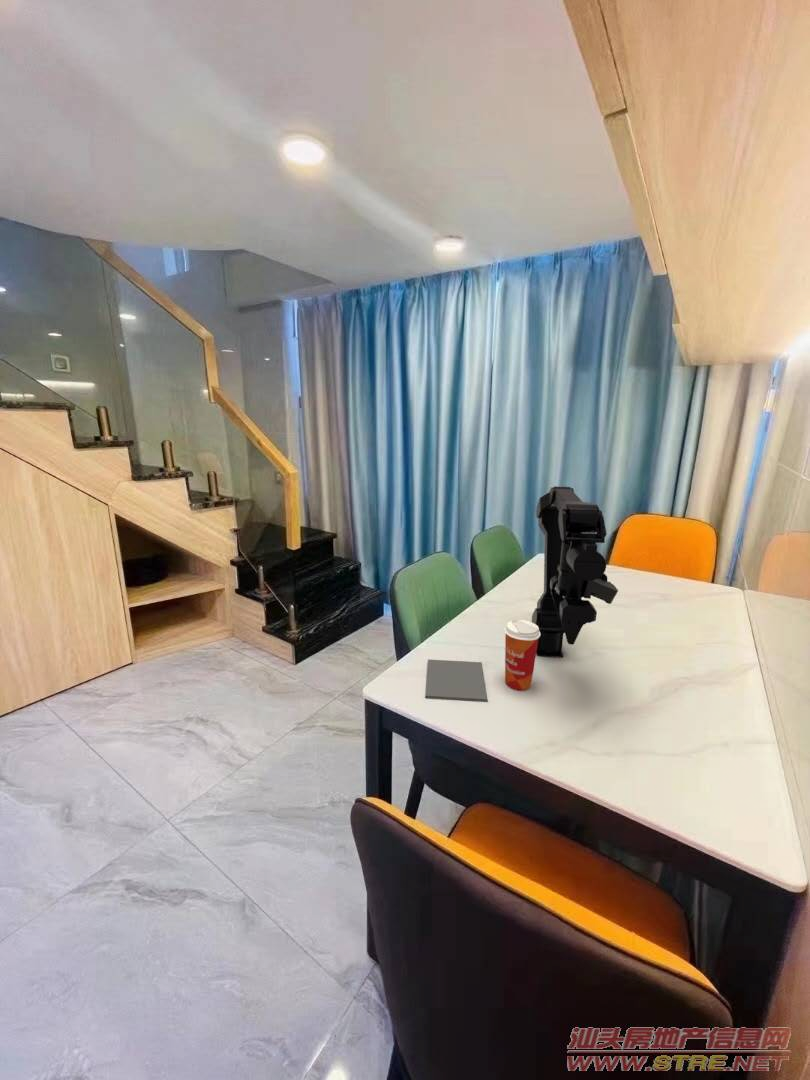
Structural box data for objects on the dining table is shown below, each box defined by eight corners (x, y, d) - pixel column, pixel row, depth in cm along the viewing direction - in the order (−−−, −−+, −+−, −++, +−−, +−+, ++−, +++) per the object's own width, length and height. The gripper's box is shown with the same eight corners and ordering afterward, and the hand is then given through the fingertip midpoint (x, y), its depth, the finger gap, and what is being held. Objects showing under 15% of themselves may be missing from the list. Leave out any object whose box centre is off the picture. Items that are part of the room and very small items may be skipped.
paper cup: (493, 677, 101) (497, 621, 98) (522, 671, 104) (526, 616, 100) (513, 697, 94) (518, 637, 91) (543, 689, 97) (549, 631, 93)
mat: (481, 664, 107) (481, 662, 107) (487, 701, 92) (487, 699, 92) (427, 661, 108) (427, 659, 108) (425, 698, 93) (425, 695, 93)
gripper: (630, 582, 80) (619, 659, 84) (605, 554, 98) (596, 619, 102) (566, 578, 82) (558, 654, 86) (552, 551, 100) (546, 615, 104)
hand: (566, 633), depth 94 cm, fingers open, 9 cm apart
